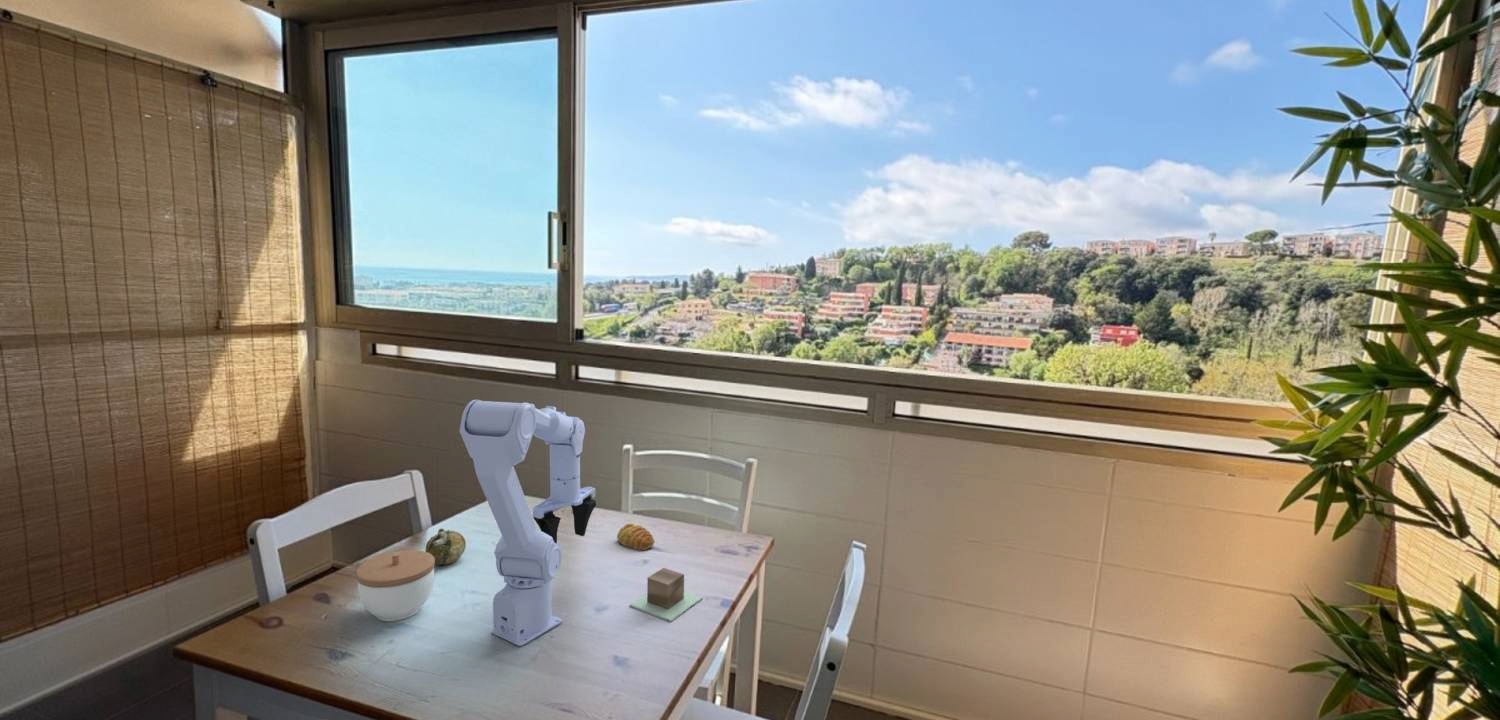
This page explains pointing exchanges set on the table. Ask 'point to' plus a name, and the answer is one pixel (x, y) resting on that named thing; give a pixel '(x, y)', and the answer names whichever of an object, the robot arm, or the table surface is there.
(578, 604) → the table surface
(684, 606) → the green pad
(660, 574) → the walnut cube
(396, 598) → the lidded bowl
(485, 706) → the table surface
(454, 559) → the green pumpkin
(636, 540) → the pastry
